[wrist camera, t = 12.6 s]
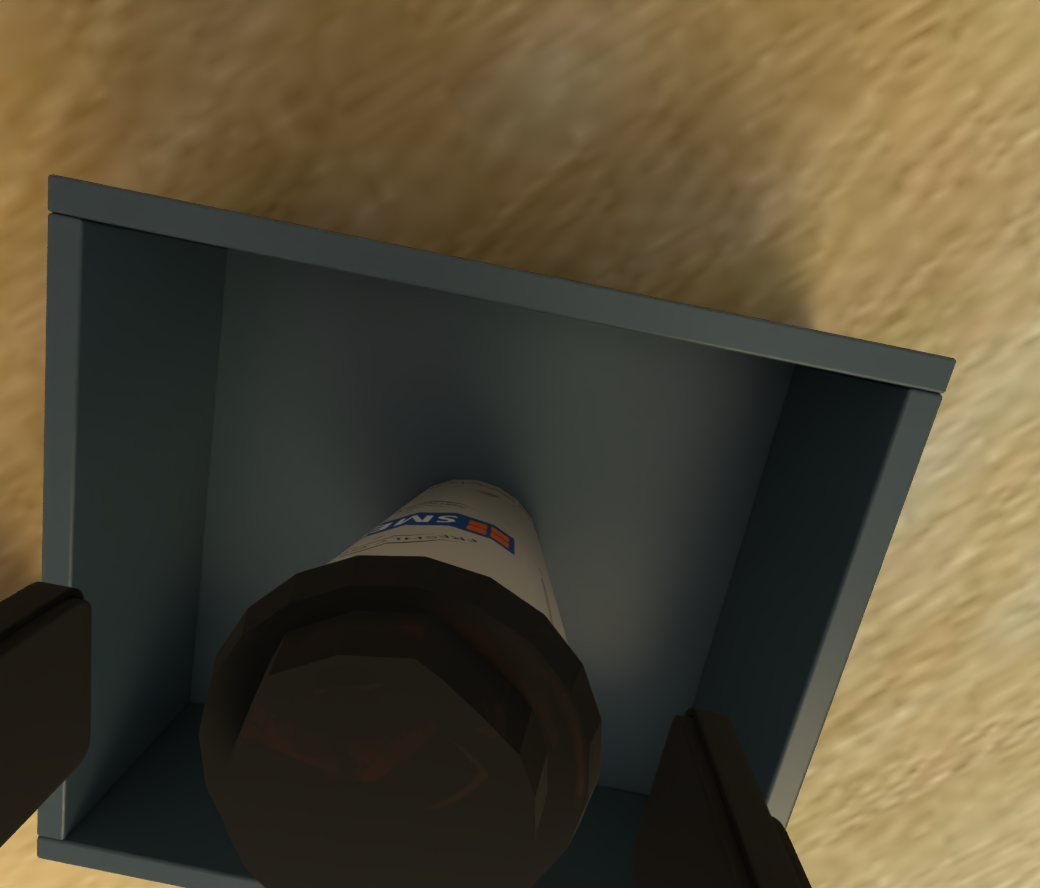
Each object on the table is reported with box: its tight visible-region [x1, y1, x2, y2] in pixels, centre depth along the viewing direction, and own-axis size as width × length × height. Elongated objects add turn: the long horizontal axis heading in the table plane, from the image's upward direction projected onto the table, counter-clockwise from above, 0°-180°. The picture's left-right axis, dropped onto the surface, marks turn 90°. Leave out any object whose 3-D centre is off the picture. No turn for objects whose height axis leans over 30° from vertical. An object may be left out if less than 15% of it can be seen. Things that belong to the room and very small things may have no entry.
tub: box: [37, 174, 956, 888], centre depth 16 cm, size 16×18×6 cm
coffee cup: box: [199, 480, 602, 888], centre depth 14 cm, size 7×7×10 cm
